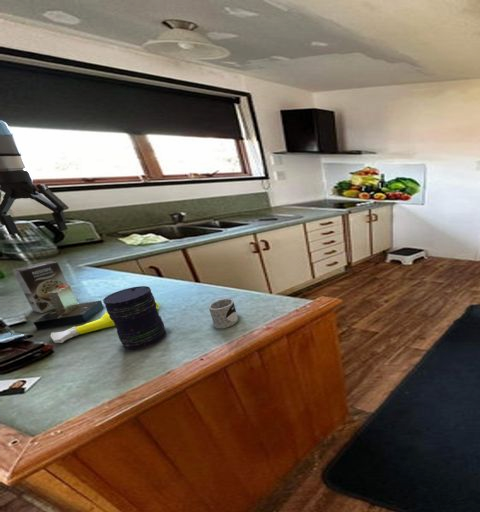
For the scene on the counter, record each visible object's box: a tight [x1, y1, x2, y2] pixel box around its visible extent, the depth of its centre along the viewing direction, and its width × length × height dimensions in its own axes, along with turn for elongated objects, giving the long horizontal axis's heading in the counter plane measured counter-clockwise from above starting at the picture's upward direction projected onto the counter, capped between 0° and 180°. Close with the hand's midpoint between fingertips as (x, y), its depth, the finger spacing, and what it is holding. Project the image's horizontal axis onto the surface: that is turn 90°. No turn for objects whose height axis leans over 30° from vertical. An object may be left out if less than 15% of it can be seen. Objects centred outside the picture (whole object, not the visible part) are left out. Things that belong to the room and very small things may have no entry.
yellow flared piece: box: [50, 300, 160, 344], centre depth 88 cm, size 3×11×24 cm
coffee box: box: [11, 260, 69, 314], centre depth 97 cm, size 9×6×16 cm
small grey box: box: [47, 284, 79, 315], centre depth 89 cm, size 6×2×8 cm, turn 18°
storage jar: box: [102, 285, 168, 352], centre depth 76 cm, size 10×10×15 cm
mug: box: [208, 297, 239, 329], centre depth 86 cm, size 10×7×7 cm, turn 9°
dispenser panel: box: [32, 300, 105, 331], centre depth 91 cm, size 12×10×3 cm
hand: (39, 232), depth 97 cm, fingers open, 13 cm apart
